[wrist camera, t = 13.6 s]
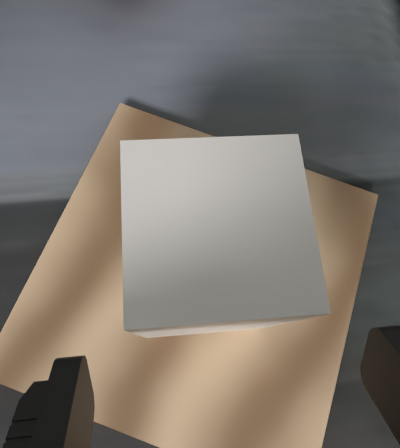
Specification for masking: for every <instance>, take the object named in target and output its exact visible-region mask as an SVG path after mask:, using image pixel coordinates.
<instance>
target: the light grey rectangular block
mask: <svg viewBox="0 0 400 448" xmlns="http://www.w3.org/2000/svg"><path fill="white" fill-rule="evenodd" d="M120 165H121V219H122V272H123V325H124V331H127V332H130V333H133V334H136V335H139V336H142V337H145V338H153V337H165V336H177V335H189V334H201V333H213V332H226V331H238V330H250V329H261V328H266V327H271V326H275V325H280V324H285V323H289V322H294V321H299V320H303V319H308V318H313V317H317V316H322V315H327V314H331V310H330V305H329V299H328V294H327V288H326V283H325V277H324V272H323V267H322V261H321V256H320V250H319V245H318V239H317V234H316V228H315V223H314V217H313V212H312V207H311V201H310V196H309V190H308V185H307V179H306V174H305V168H304V163H303V157H302V152H301V147H300V141H299V136H298V134H283V135H256V136H229V137H201V138H174V139H147V140H120Z"/></svg>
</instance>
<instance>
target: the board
mask: <svg viewBox="0 0 400 448" xmlns="http://www.w3.org/2000/svg"><path fill="white" fill-rule="evenodd" d="M201 137H214V136H212V135H209V134H206V133H203V132H200V131H198V130H195V129H192V128H189V127H186V126H184V125H181V124H178V123H175V122H172V121H169V120H167V119H164V118H161V117H158V116H155V115H153V114H150V113H147V112H144V111H141V110H139V109H136V108H133V107H130V106H127V105H125V104H122V103H120V104H119V106H118V108H117V110H116V112H115V114H114V116H113V118H112V120H111V121H110V123H109V125H108V127H107V129H106V131H105V133H104V135H103V137H102V139H101V141H100V143H99V145H98V146H97V148H96V150H95V152H94V154H93V156H92V158H91V160H90V162H89V164H88V166H87V168H86V169H85V171H84V173H83V175H82V177H81V179H80V181H79V183H78V185H77V187H76V189H75V191H74V193H73V194H72V196H71V198H70V200H69V202H68V204H67V206H66V208H65V210H64V212H63V214H62V216H61V218H60V219H59V221H58V223H57V225H56V227H55V229H54V231H53V233H52V235H51V237H50V239H49V241H48V242H47V244H46V246H45V248H44V250H43V252H42V254H41V256H40V258H39V260H38V262H37V264H36V266H35V267H34V269H33V271H32V273H31V275H30V277H29V279H28V281H27V283H26V285H25V287H24V289H23V291H22V292H21V294H20V296H19V298H18V300H17V302H16V304H15V306H14V308H13V310H12V312H11V314H10V316H9V317H8V319H7V321H6V323H5V325H4V327H3V329H2V331H1V333H0V384H2V385H5V386H7V387H10V388H12V389H15V390H17V391H20V392H22V393H25V392H26V391H27V390H28V388H29V387H30V386H31V385H32V383H33V382H35V381H45V380H48V379H49V376H50V372H51V369H52V365H53V362H54V360H55V359H56V358H63V357H73V356H83V355H85V356H86V359H87V363H88V368H89V373H90V378H91V382H92V387H93V392H94V402H95V410H94V422H97V423H99V424H102V425H104V426H107V427H109V428H112V429H114V430H117V431H119V432H122V433H124V434H127V435H129V436H132V437H134V438H137V439H139V440H142V441H144V442H147V443H149V444H152V445H154V446H157V447H159V448H322V443H323V439H324V434H325V430H326V425H327V421H328V416H329V412H330V408H331V403H332V399H333V394H334V390H335V385H336V381H337V376H338V372H339V367H340V363H341V359H342V354H343V350H344V345H345V341H346V336H347V332H348V327H349V323H350V319H351V314H352V310H353V305H354V301H355V296H356V292H357V287H358V283H359V279H360V274H361V270H362V265H363V261H364V256H365V252H366V247H367V243H368V238H369V234H370V230H371V225H372V221H373V216H374V212H375V207H376V203H377V198H378V195H377V194H374V193H372V192H369V191H366V190H363V189H360V188H358V187H355V186H352V185H349V184H346V183H344V182H341V181H338V180H335V179H332V178H330V177H327V176H324V175H321V174H318V173H316V172H313V171H310V170H307V169H305V174H306V179H307V185H308V190H309V196H310V201H311V207H312V212H313V217H314V223H315V228H316V234H317V239H318V245H319V250H320V256H321V261H322V267H323V272H324V277H325V283H326V288H327V294H328V299H329V305H330V310H331V314H327V315H322V316H317V317H313V318H308V319H303V320H299V321H294V322H289V323H285V324H280V325H275V326H271V327H266V328H261V329H250V330H238V331H226V332H213V333H201V334H189V335H177V336H165V337H153V338H145V337H142V336H139V335H136V334H133V333H130V332H127V331H124V325H123V272H122V219H121V165H120V140H147V139H174V138H201Z"/></svg>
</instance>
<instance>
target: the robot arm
mask: <svg viewBox="0 0 400 448" xmlns="http://www.w3.org/2000/svg"><path fill="white" fill-rule="evenodd" d="M360 371H361V377H362V381H363V384H364V386H365V388H366V390H367V391H368V393H369V395H370V396H371V398H372V400H373V401H374V403H375V405H376V406H377V408H378V410H379V411H380V413H381V415H382V416H383V418H384V420H385V421H386V423H387V424H388V426H389V428H390V429H391V431H392V433H393V434H394V436H395V438H396V439H397V441H398V443H399V444H400V326H398V325H397V326H387V327H377V328H372V329H371V330H370V331H369V334H368V338H367V342H366V346H365V350H364V354H363V358H362V362H361V367H360ZM94 410H95V402H94V392H93V387H92V382H91V378H90V373H89V368H88V363H87V359H86V356H85V355H83V356H73V357H63V358H56V359H55V360H54V362H53V365H52V369H51V372H50V376H49V379H48V380H45V381H35V382H33V383H32V385H31V386H30V387H29V388H28V390H27V391H26V392H25V394H24V395H23V396H22V397H21V399H20V400H19V402H18V405H17V408H16V411H15V414H14V417H13V419H12V425H10V428H9V431H8V434H7V436H6V442H5V443H4V445H3V448H90V442H91V435H92V428H93V421H94Z"/></svg>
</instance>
